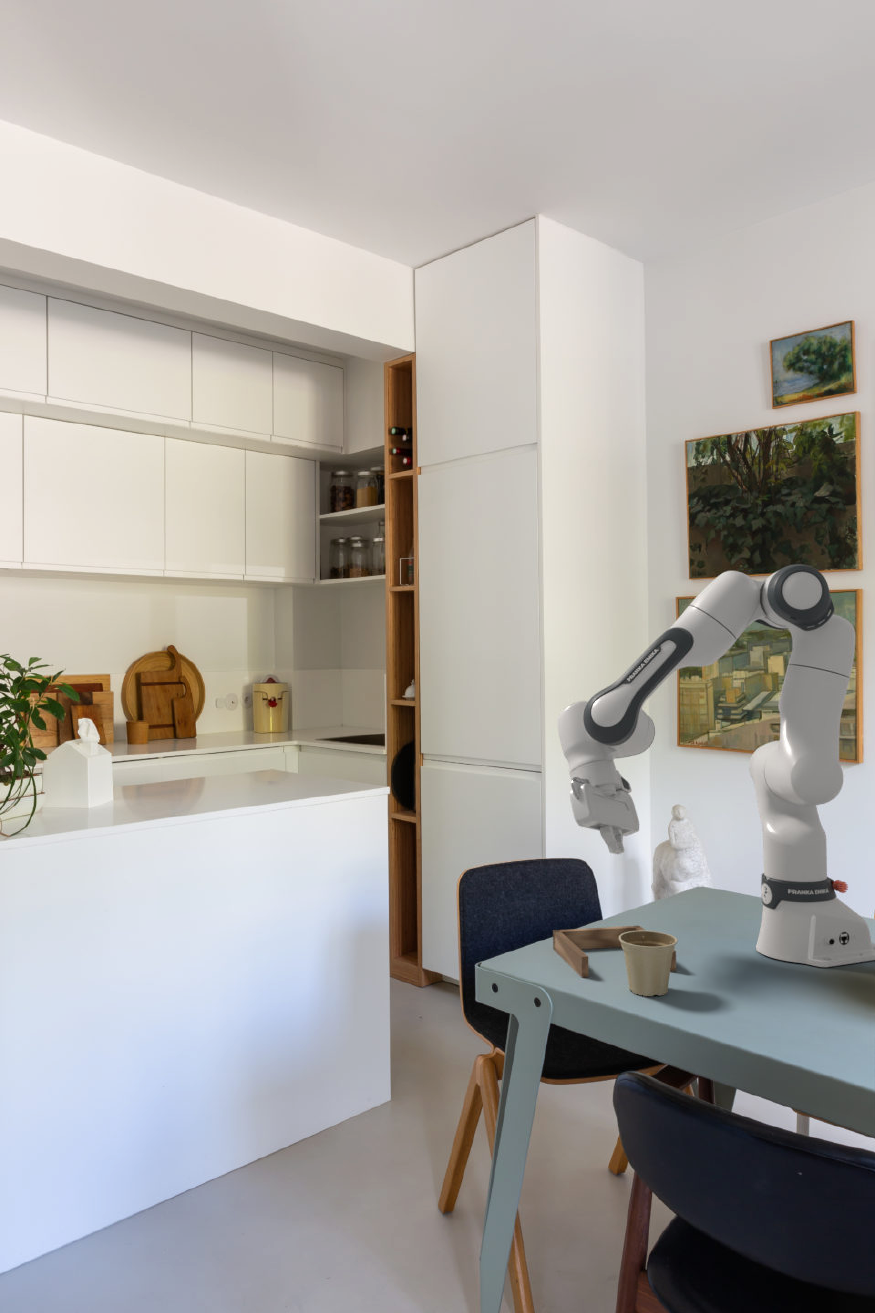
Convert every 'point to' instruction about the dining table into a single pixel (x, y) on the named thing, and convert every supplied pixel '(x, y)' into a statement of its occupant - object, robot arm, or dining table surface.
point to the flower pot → (648, 960)
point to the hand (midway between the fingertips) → (617, 853)
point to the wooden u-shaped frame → (590, 944)
